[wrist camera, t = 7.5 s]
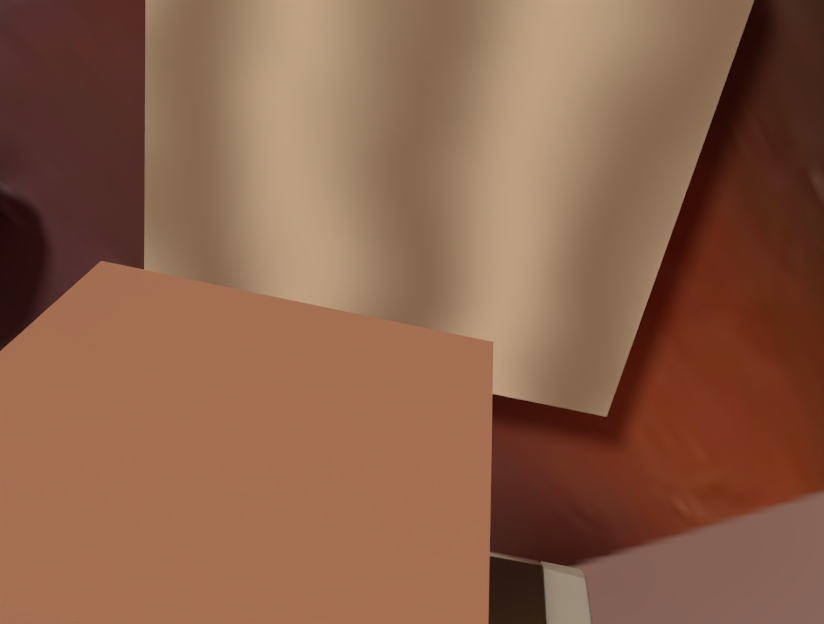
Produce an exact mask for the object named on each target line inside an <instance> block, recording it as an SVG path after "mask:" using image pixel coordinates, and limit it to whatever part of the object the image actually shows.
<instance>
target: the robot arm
mask: <svg viewBox="0 0 824 624" xmlns="http://www.w3.org/2000/svg"><path fill="white" fill-rule="evenodd" d="M488 624H592V618H591V610H590V603H589V596H588V588H587V581H586V576H585V574H584V572H583V571H582V569H578V568H573V567H568V566H563V565H558V564H552V563H547V562H542V561H540V562H538V561H536V560H531V559H526V558H521V557H516V556H511V555H506V554H501V553H496V552H491V551H490V564H489V621H488Z"/></svg>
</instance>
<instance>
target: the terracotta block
mask: <svg viewBox="0 0 824 624" xmlns="http://www.w3.org/2000/svg"><path fill="white" fill-rule="evenodd" d="M492 392H493V342H491V341H486V340H481V339H476V338H471V337H467V336H462V335H457V334H452V333H447V332H442V331H438V330H433V329H428V328H423V327H418V326H413V325H409V324H404V323H399V322H394V321H389V320H384V319H380V318H375V317H370V316H365V315H360V314H355V313H351V312H346V311H341V310H336V309H331V308H326V307H322V306H317V305H312V304H307V303H302V302H297V301H293V300H288V299H283V298H278V297H273V296H268V295H264V294H259V293H254V292H249V291H244V290H239V289H235V288H230V287H225V286H220V285H215V284H210V283H206V282H201V281H196V280H191V279H186V278H181V277H177V276H172V275H167V274H162V273H157V272H152V271H148V270H143V269H138V268H133V267H128V266H123V265H119V264H114V263H109V262H104V261H101V262H99V263H98V264H97V265H96V266H95V267H94V268H93V269H92V270H90V271H89V272H88V273H87V274H86V275H85V276H84V277H83V278H82V279H80V280H79V281H78V282H77V283H76V284H75V285H74V286H73V287H71V288H70V289H69V290H68V291H67V292H66V293H65V294H64V295H63V296H61V297H60V298H59V299H58V300H57V301H56V302H55V303H54V304H52V305H51V306H50V307H49V308H48V309H47V310H46V311H45V312H44V313H42V314H41V315H40V316H39V317H38V318H37V319H36V320H35V321H33V322H32V323H31V324H30V325H29V326H28V327H27V328H26V329H25V330H23V331H22V332H21V333H20V334H19V335H18V336H17V337H16V338H14V339H13V340H12V341H11V342H10V343H9V344H8V345H7V346H6V347H4V348H3V349H2V350H1V351H0V624H488V621H489V564H490V506H491V449H492Z"/></svg>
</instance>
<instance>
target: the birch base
mask: <svg viewBox="0 0 824 624" xmlns="http://www.w3.org/2000/svg"><path fill="white" fill-rule="evenodd" d="M753 2H754V0H146V27H145V239H144V270H148V271H152V272H157V273H162V274H167V275H172V276H177V277H181V278H186V279H191V280H196V281H201V282H206V283H210V284H215V285H220V286H225V287H230V288H235V289H239V290H244V291H249V292H254V293H259V294H264V295H268V296H273V297H278V298H283V299H288V300H293V301H297V302H302V303H307V304H312V305H317V306H322V307H326V308H331V309H336V310H341V311H346V312H351V313H355V314H360V315H365V316H370V317H375V318H380V319H384V320H389V321H394V322H399V323H404V324H409V325H413V326H418V327H423V328H428V329H433V330H438V331H442V332H447V333H452V334H457V335H462V336H467V337H471V338H476V339H481V340H486V341H491V342H493V392H492V394H496V395H501V396H506V397H511V398H516V399H521V400H526V401H530V402H535V403H540V404H545V405H550V406H555V407H560V408H565V409H570V410H575V411H580V412H585V413H590V414H595V415H600V416H605V417H607V414H608V411H609V409H610V406H611V403H612V400H613V397H614V394H615V392H616V389H617V386H618V383H619V380H620V378H621V375H622V372H623V369H624V366H625V363H626V361H627V358H628V355H629V352H630V349H631V347H632V344H633V341H634V338H635V335H636V332H637V330H638V327H639V324H640V321H641V318H642V315H643V313H644V310H645V307H646V304H647V301H648V299H649V296H650V293H651V290H652V287H653V284H654V282H655V279H656V276H657V273H658V270H659V268H660V265H661V262H662V259H663V256H664V253H665V251H666V248H667V245H668V242H669V239H670V237H671V234H672V231H673V228H674V225H675V222H676V220H677V217H678V214H679V211H680V208H681V205H682V203H683V200H684V197H685V194H686V191H687V189H688V186H689V183H690V180H691V177H692V174H693V172H694V169H695V166H696V163H697V160H698V158H699V155H700V152H701V149H702V146H703V143H704V141H705V138H706V135H707V132H708V129H709V126H710V124H711V121H712V118H713V115H714V112H715V110H716V107H717V104H718V101H719V98H720V95H721V93H722V90H723V87H724V84H725V81H726V79H727V76H728V73H729V70H730V67H731V64H732V62H733V59H734V56H735V53H736V50H737V47H738V45H739V42H740V39H741V36H742V33H743V31H744V28H745V25H746V22H747V19H748V16H749V14H750V11H751V8H752V5H753Z"/></svg>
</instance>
